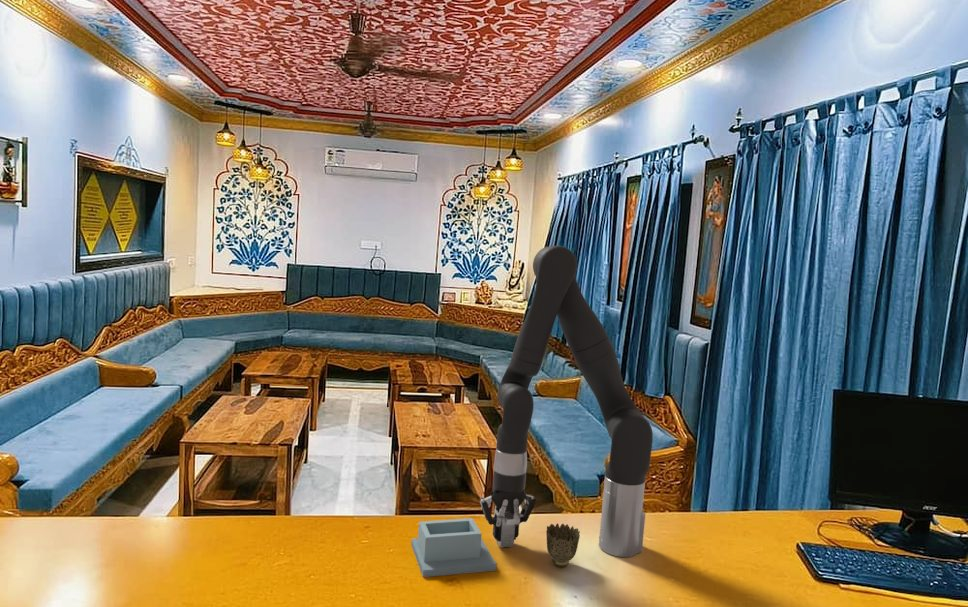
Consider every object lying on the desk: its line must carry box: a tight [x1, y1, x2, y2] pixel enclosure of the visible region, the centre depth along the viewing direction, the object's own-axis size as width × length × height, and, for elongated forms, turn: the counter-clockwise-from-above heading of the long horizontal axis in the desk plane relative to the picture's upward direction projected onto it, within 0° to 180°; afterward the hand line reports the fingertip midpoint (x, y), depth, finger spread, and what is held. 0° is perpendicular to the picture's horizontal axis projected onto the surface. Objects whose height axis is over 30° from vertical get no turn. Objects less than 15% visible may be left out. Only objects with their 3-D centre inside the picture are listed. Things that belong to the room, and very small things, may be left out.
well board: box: [410, 517, 497, 578], centre depth 143 cm, size 16×14×7 cm
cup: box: [545, 523, 581, 569], centre depth 142 cm, size 8×7×8 cm
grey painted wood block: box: [495, 511, 521, 548], centre depth 149 cm, size 3×6×8 cm, turn 17°
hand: (505, 538), depth 150 cm, fingers closed on grey painted wood block, 3 cm apart
